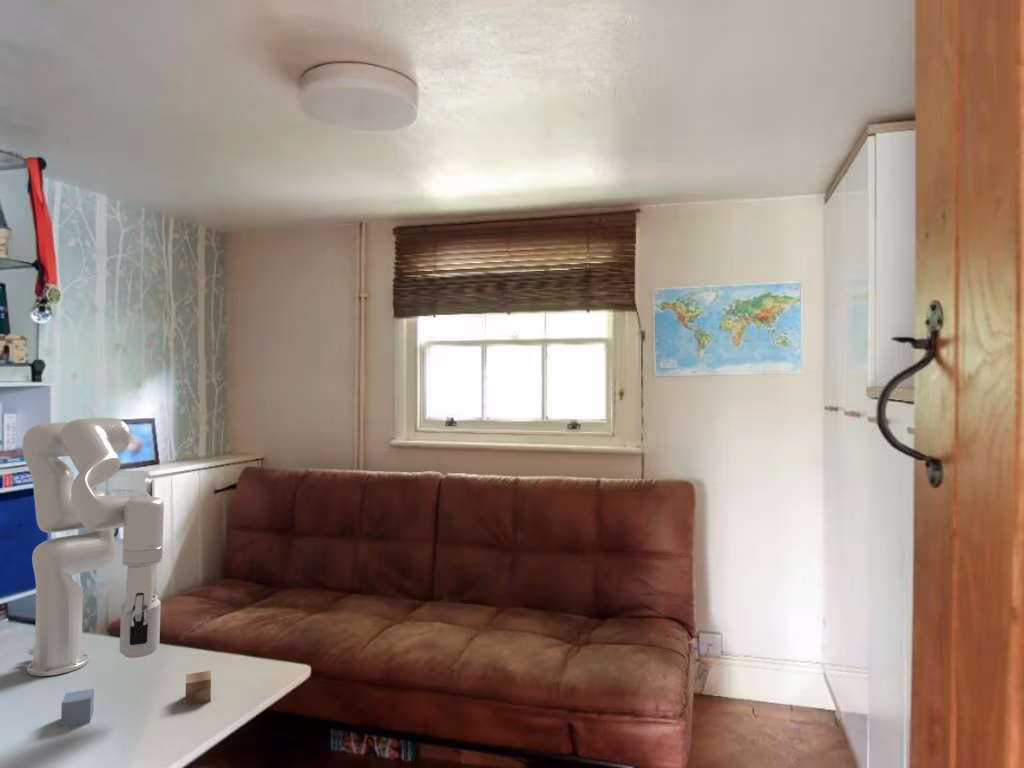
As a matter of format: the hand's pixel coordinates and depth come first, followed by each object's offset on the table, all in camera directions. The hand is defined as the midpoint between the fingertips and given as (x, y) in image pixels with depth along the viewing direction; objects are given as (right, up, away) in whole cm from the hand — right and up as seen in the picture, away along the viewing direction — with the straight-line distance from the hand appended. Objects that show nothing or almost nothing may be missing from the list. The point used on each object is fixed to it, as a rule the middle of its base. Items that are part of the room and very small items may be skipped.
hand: (140, 636), depth 142 cm
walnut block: (+10, -16, +4) cm, 19 cm away
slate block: (-10, -15, -5) cm, 19 cm away
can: (0, -4, 0) cm, 4 cm away
